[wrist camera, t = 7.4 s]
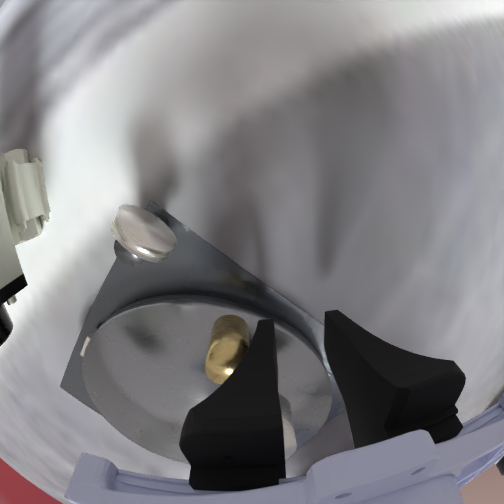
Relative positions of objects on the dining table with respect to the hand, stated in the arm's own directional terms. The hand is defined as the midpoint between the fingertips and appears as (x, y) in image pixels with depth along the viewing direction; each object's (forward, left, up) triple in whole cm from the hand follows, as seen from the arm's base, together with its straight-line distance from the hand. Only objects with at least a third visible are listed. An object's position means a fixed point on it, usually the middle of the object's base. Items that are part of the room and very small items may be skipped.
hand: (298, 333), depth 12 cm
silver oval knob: (+8, +1, -3) cm, 9 cm away
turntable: (0, +9, -3) cm, 10 cm away
